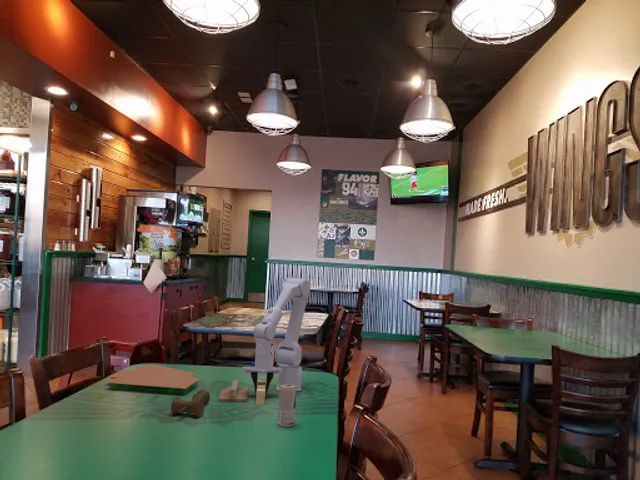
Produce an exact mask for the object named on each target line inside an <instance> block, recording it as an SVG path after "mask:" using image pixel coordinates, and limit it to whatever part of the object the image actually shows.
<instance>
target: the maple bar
mask: <svg viewBox="0 0 640 480" xmlns="http://www.w3.org/2000/svg"><path fill="white" fill-rule="evenodd" d="M266 378H267V376H257V393H256V395H255V396H256V399H255V400H256V401H255V405H257V406H265V405H266V404H265V403H266V394H265V389H266Z"/></svg>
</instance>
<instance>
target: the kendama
mask: <svg viewBox="0 0 640 480" xmlns="http://www.w3.org/2000/svg"><path fill="white" fill-rule="evenodd" d="M210 400H211V393H210V391H208V390H207V389H206V390H205V389H200V390H198V391H197V392H196V393H195V394H193V395H192V399H191V400H190V401H188V400H184V399H182V398H180V397H178V396H176V397H174V398H173V400H172V401H171V404H170V405H171V406H170V413H171V415H173V416H177V415H178V414H182V413H190V414H192V415H194V416H195V417H196V418H198V419H199V418H201V417H202V416H203V413H204V410H205V407H206V406H205V405H207V404H208V403H209V402H210Z"/></svg>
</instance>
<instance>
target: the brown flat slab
mask: <svg viewBox="0 0 640 480" xmlns="http://www.w3.org/2000/svg"><path fill="white" fill-rule="evenodd" d="M194 375H196V373H195V372H192V371H186V370H183V369H179V368H177V369H176V368H173V367H172V368H171V367H169V366H163V365H159V364H158V365H157V364H148V365H145V366H141V367H137V368H134V369H124V370H120V371H118V372H116V373H113V374H111V375H108V376H107V378H110V379H111V380H109V381H107V382H106V383H107V384H110V387H111V388H117V389H119V391H121V389H122V390H123V391H128V390H129V389H131V388H133V387H135V388H136V390H138V389H139V390H138V392H140V390H141V393H142V392H143V393H146V392H147V390H145V389H143V387H153V388H149V391H155V390H157V392H160V393H159V394H161V393H162V395H163V393H164V395H165V394H166V392H168V395H170V394H171V395H175V393H179V390H181V392H183V393H184V395H186V394H188V393H190V392H191V391H192V390H193V388H194V389H195V388H196V387H198V386H197V385H198V381H199V380H200V378H197V377H193V376H194ZM122 385H123V386H122ZM131 385H132V386H131ZM138 386H139V388H138ZM140 386H141V387H140ZM130 387H131V388H130ZM128 388H129V389H128ZM162 388H167V389H162ZM142 390H143V391H142ZM144 390H145V391H144ZM161 391H162V392H161ZM165 391H166V392H165ZM173 392H174V393H173Z"/></svg>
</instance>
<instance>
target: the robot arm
mask: <svg viewBox="0 0 640 480" xmlns="http://www.w3.org/2000/svg"><path fill="white" fill-rule="evenodd" d="M310 291H311V284H310V282H309V279H307V278H299V277H289V276H288V277H287V276H286V277H285V279H284V280H283V282H282V284H281V292H280V294H279V296H278V298H277V300H276V302H275V304H274V306H271V307H269V308H268V309H267V312H266V314H265V315H264V316H263V319H262V321H261V322H259V323H257V324H256V325H255V326H254V330H253V332H252V333H253V337H254V342H255V355H254V356H255V357H254V358H255V359H254V366H242V374H250V378H251V380H252V382H253V386H254V394H257V385H258V377H259V375H258V374H266V389H265V395H266V394H268V391H269V387H270V384H271V382H272V380H273V377H274V375H275V374H277V384H276V385H275V386H276V389H275V390H276V391H278V392H279V388H280V385H281V384H294V385H296V388H297V390H296V392H301V390H302V383H303V382H302V375H303V374H302V372H303V371H302V366H300V364H301V362H302V359H303V358H302V357H303V356H302V351H303V348H302V346H300V344H299V343H298V342H299V338H300V333H301V328H302V323H303V320H304V315H305V310H306V306H307V302H308V300H309V295H310ZM290 300H291V301H292V307H291V310H290V313H289V314H290V315H289V319H288V323H287V328H286V332H285V336H284V340H283V341H281V342H279V343H278V347H277V348H276V351H275V353H274V361H275V362H276V365H277V366H278V367H277V366H276V367H275V366H271V363H272V362H271V359H272V341H273V339H274V338H275V336H276V333H277V331H276V330H277V328H278V327H277V326H278V325H279V323H280V321H281V319H282V317H283V316H284V315H283V314H284V313H283V310H284V309H285V308H286V306H287V304H288V303H289V301H290Z"/></svg>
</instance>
